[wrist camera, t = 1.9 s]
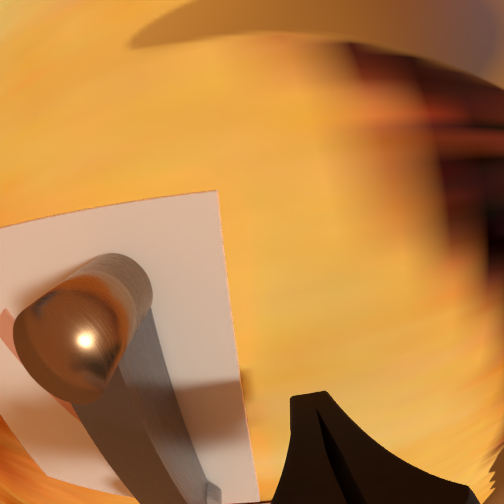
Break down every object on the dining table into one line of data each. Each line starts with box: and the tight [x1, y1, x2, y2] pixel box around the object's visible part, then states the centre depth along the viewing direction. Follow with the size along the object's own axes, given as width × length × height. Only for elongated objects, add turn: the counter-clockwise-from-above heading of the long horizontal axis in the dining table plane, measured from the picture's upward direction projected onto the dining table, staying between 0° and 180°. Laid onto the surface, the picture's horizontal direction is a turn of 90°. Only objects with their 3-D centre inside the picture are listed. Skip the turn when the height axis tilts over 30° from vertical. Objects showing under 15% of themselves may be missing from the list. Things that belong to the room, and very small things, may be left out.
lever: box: [13, 253, 222, 504], centre depth 10 cm, size 17×4×5 cm, turn 5°
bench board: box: [0, 190, 260, 504], centre depth 12 cm, size 20×18×1 cm
